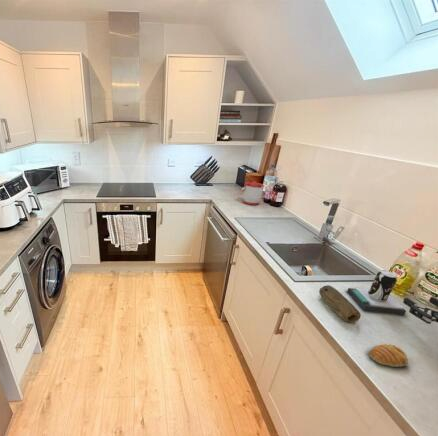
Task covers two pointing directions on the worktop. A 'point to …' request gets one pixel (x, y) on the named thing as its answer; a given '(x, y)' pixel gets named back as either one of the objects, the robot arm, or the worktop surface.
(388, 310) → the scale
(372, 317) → the worktop surface
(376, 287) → the beverage can
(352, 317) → the brown rough cylinder
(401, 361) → the pastry
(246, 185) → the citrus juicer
